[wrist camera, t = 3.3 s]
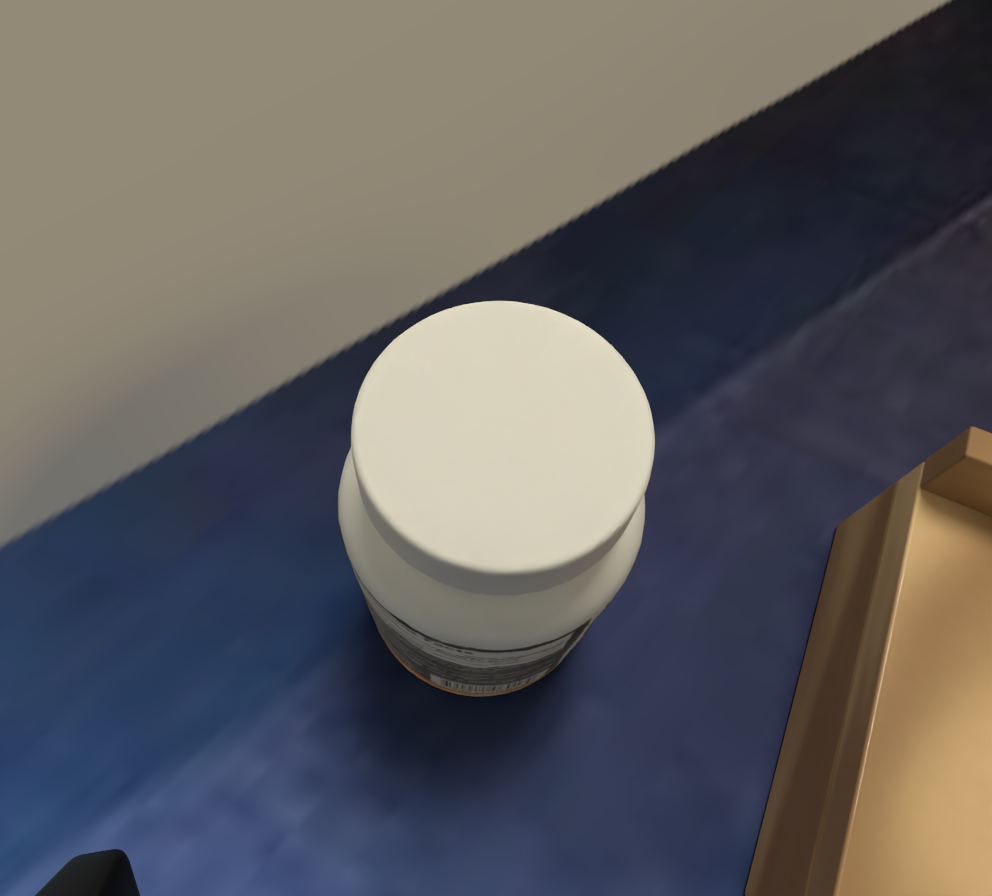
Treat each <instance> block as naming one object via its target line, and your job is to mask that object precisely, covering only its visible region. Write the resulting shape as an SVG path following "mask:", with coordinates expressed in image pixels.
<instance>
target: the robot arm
mask: <svg viewBox="0 0 992 896" xmlns="http://www.w3.org/2000/svg"><path fill="white" fill-rule="evenodd" d="M35 896H140V894H139V891H138V888H137V884H136V881H135V878H134V875H133V871H132V868H131V865H130V861H129V859H128V857H127V855H126V854H125V853H124V852H123V851H122V850H118V849H113V850H107V851H101V852H95V853H89V854H83V855H79V856H77V857H75V858H73V859H72V860H70V861H69V862H68V863H67V864H66V865H65V866H64V867H63V868H62V869H61V870H60V871H59V872H58V873H57V874H56V875H55V876H54V877H53V878H52V879H51V880H50V881H49V882H48V883H47V884H46V885H45V886H44V887H43V888H42V889H41V890H40V891H39V892H38V893H37V894H36V895H35Z"/></svg>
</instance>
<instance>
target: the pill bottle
mask: <svg viewBox="0 0 992 896" xmlns="http://www.w3.org/2000/svg"><path fill="white" fill-rule="evenodd" d="M654 448H655V435H654V426H653V420H652V415H651V410H650V406H649V403H648V401H647V398H646V395H645V393H644V390H643V388H642V387H641V385H640V383H639V381H638V379H637V377H636V375H635V374H634V372H633V371H632V369H631V368H630V366H629V365H628V364H627V363H626V361H625V360H624V359H623V357H622V356H621V355H620V354H619V353H618V352H617V351H616V350H615V349H614V347H613V346H612V345H610V344H609V343H608V342H607V341H606V340H605V339H603V338H602V337H601V336H600V335H599V334H597V333H596V332H595V331H593V330H592V329H590V328H589V327H587V326H586V325H584V324H582V323H581V322H579V321H577V320H575V319H573V318H571V317H569V316H567V315H564V314H562V313H559V312H557V311H554V310H551V309H548V308H545V307H540V306H536V305H532V304H526V303H520V302H513V301H487V302H478V303H471V304H464V305H461V306H457V307H453V308H450V309H447V310H444V311H441V312H439V313H436V314H434V315H432V316H430V317H428V318H426V319H424V320H422V321H420V322H419V323H417V324H415V325H414V326H412V327H411V328H409V329H408V330H406V331H405V332H404V333H402V334H401V335H400V336H398V337H397V338H396V339H395V340H394V341H393V342H392V343H391V344H390V345H389V346H388V347H387V348H386V349H385V350H384V351H383V352H382V353H381V355H380V356H379V357H378V358H377V360H376V361H375V362H374V364H373V365H372V367H371V369H370V370H369V372H368V374H367V375H366V377H365V379H364V382H363V384H362V386H361V388H360V391H359V394H358V397H357V400H356V403H355V406H354V411H353V417H352V427H351V448H350V451H349V453H348V456H347V458H346V461H345V465H344V468H343V472H342V476H341V481H340V486H339V492H338V509H337V514H338V522H339V528H340V533H341V538H342V541H343V544H344V546H345V551H346V553H347V555H348V557H349V560H350V562H351V565H352V567H353V570H354V573H355V575H356V578H357V580H358V582H359V585H360V587H361V589H362V591H363V594H364V597H365V599H366V602H367V605H368V607H369V610H370V612H371V614H372V616H373V619H374V621H375V623H376V625H377V628H378V631H379V633H380V634H381V636H382V638H383V640H384V641H385V643H386V644H387V646H388V647H389V649H390V650H391V652H392V653H393V655H394V656H395V657H396V658H397V659H398V660H399V661H400V662H401V663H402V664H403V665H404V666H405V667H406V668H407V669H408V670H409V671H410V672H412V673H413V674H414V675H416V676H417V677H419V678H420V679H422V680H423V681H425V682H427V683H429V684H431V685H432V686H435V687H437V688H440V689H442V690H445V691H448V692H452V693H455V694H460V695H466V696H493V695H500V694H505V693H509V692H513V691H516V690H519V689H522V688H524V687H526V686H528V685H530V684H532V683H534V682H535V681H537V680H539V679H541V678H542V677H544V676H545V675H546V674H548V673H549V672H551V671H552V670H553V669H554V668H555V667H556V666H557V665H559V663H560V662H561V661H562V660H563V658H564V657H565V656H566V655H567V654H568V653H569V652H570V650H571V649H572V648H573V647H574V646H575V645H576V644H577V643H578V641H579V640H580V639H581V638H582V637H583V636H584V635H585V634H586V632H587V631H588V629H589V627H590V626H591V624H592V623H593V622H594V620H595V619H596V618H597V616H598V615H599V614H600V613H601V612H602V610H603V609H604V608H606V607H607V606H608V604H609V603H610V601H611V600H612V599H613V597H614V596H615V595H616V593H617V592H618V590H619V589H620V588H621V586H622V585H623V583H624V582H625V580H626V579H627V577H628V576H629V574H630V571H631V569H632V567H633V565H634V563H635V560H636V558H637V555H638V552H639V549H640V545H641V540H642V534H643V528H644V520H645V497H644V493H645V491H646V488H647V485H648V482H649V479H650V475H651V470H652V465H653V458H654Z"/></svg>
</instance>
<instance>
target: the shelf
mask: <svg viewBox="0 0 992 896" xmlns="http://www.w3.org/2000/svg"><path fill="white" fill-rule="evenodd" d="M745 896H992V434H991V433H989V432H986V431H984V430H981V429H978V428H976V427H970V428H968V429H967V430H966V431H964V432H963V433H962V434H960V435H959V436H957V437H956V438H955V439H953V440H952V441H951V442H949V443H948V444H947V445H945V446H944V447H943V448H941V449H940V450H939V451H937V452H936V453H935V454H933V455H932V456H931V457H929V458H928V459H927V460H926V461H925V462H923V463H921V464H920V465H919V466H917V467H916V468H915V469H913V470H912V471H911V472H909V473H908V474H907V475H905V476H904V477H903V478H901V479H900V480H899V481H898V482H896V483H894V484H893V485H892V486H890V487H889V488H888V489H886V490H885V491H884V492H882V493H881V494H880V495H878V496H877V497H876V498H874V499H873V500H872V501H870V502H869V503H868V504H866V505H865V506H864V507H862V508H861V509H859V510H858V511H857V512H855V513H854V514H853V515H851V516H850V517H849V518H847V519H846V520H845V521H843V522H842V523H841V524H839V525H838V526H837V529H836V533H835V537H834V541H833V545H832V549H831V553H830V557H829V561H828V565H827V569H826V573H825V577H824V581H823V585H822V589H821V593H820V597H819V601H818V605H817V609H816V613H815V617H814V621H813V625H812V629H811V633H810V636H809V640H808V644H807V648H806V652H805V656H804V660H803V664H802V668H801V672H800V676H799V680H798V684H797V688H796V692H795V696H794V700H793V704H792V708H791V712H790V716H789V720H788V724H787V728H786V732H785V736H784V740H783V744H782V748H781V751H780V755H779V759H778V763H777V767H776V771H775V775H774V779H773V783H772V787H771V791H770V795H769V799H768V803H767V807H766V811H765V815H764V819H763V823H762V827H761V831H760V835H759V839H758V843H757V847H756V851H755V855H754V859H753V863H752V866H751V870H750V874H749V878H748V882H747V886H746V890H745Z"/></svg>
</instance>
